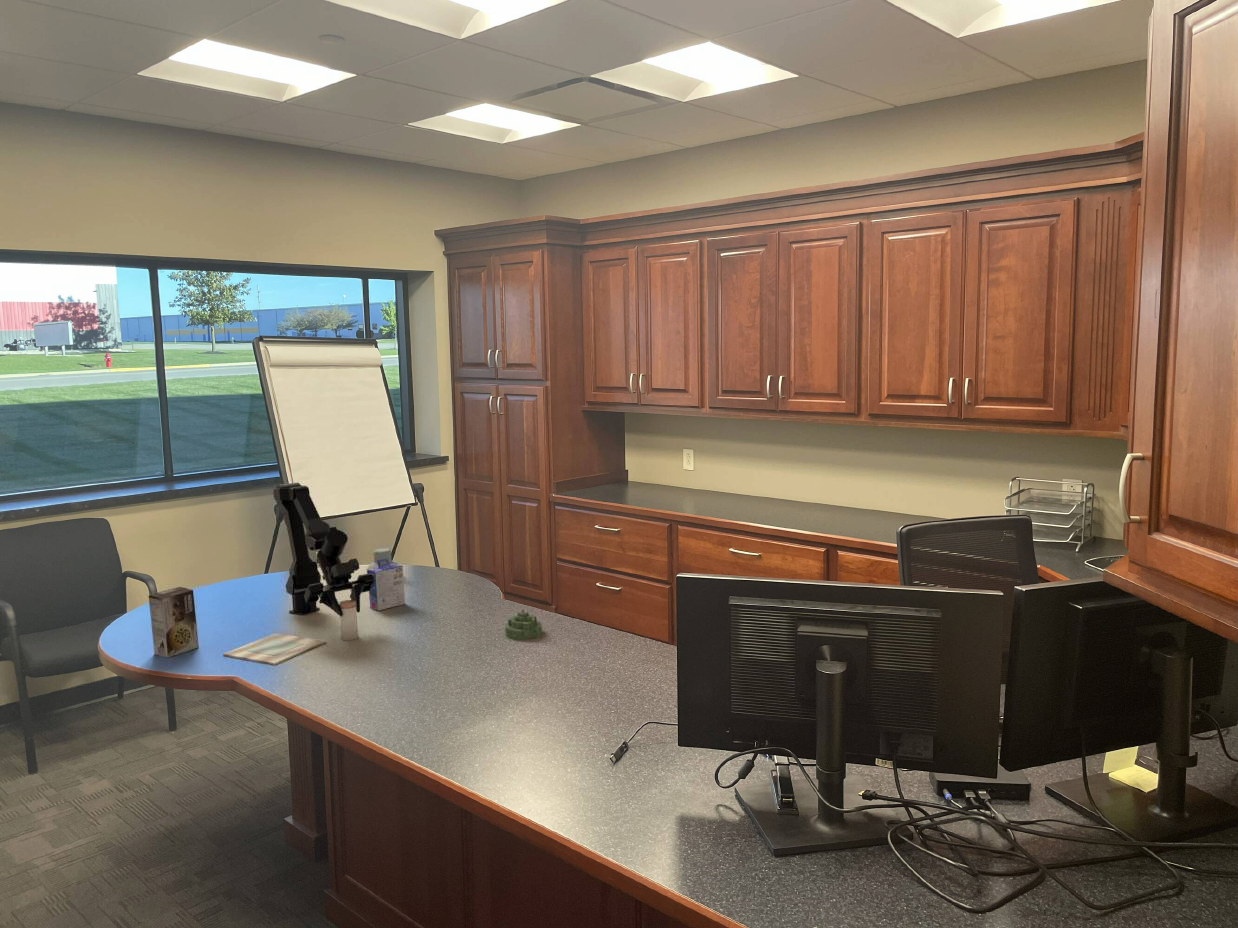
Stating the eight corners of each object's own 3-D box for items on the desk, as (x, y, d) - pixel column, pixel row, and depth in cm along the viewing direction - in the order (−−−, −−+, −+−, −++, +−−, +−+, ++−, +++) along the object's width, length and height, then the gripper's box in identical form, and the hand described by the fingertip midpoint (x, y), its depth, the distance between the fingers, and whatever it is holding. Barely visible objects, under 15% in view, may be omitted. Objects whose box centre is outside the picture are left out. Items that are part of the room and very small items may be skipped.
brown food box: (184, 643, 244) (179, 586, 242) (199, 647, 241) (194, 589, 238) (152, 654, 236) (147, 594, 234) (167, 658, 233) (162, 597, 231)
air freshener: (392, 573, 315) (391, 545, 314) (403, 577, 309) (402, 549, 308) (363, 578, 308) (361, 550, 307) (374, 583, 302) (372, 554, 301)
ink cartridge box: (396, 600, 281) (394, 555, 279) (406, 604, 277) (404, 558, 276) (368, 607, 274) (365, 561, 272) (378, 611, 270) (375, 564, 268)
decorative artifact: (514, 627, 253) (499, 638, 244) (513, 603, 252) (498, 613, 243) (547, 630, 250) (533, 641, 241) (546, 605, 249) (532, 616, 240)
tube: (338, 638, 245) (335, 603, 244) (349, 634, 249) (347, 599, 248) (350, 640, 244) (348, 605, 242) (361, 636, 248) (359, 600, 246)
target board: (223, 655, 234) (223, 653, 234) (276, 634, 250) (276, 632, 250) (274, 664, 226) (274, 662, 226) (325, 642, 242) (325, 640, 242)
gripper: (305, 556, 240) (323, 604, 233) (370, 545, 252) (390, 590, 245) (296, 579, 247) (314, 626, 240) (360, 567, 259) (379, 612, 252)
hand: (350, 613), depth 244 cm, fingers open, 5 cm apart
